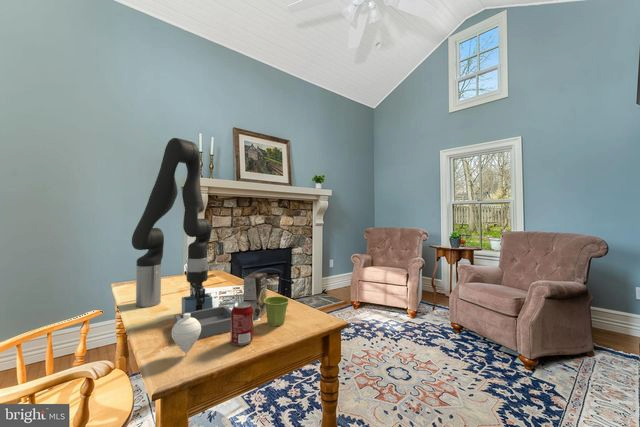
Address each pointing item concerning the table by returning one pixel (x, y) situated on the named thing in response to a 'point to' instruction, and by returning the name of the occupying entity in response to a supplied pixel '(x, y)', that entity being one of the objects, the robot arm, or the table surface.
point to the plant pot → (276, 310)
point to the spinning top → (186, 332)
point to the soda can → (241, 323)
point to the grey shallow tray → (211, 320)
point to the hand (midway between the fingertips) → (196, 311)
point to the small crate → (190, 303)
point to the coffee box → (256, 292)
